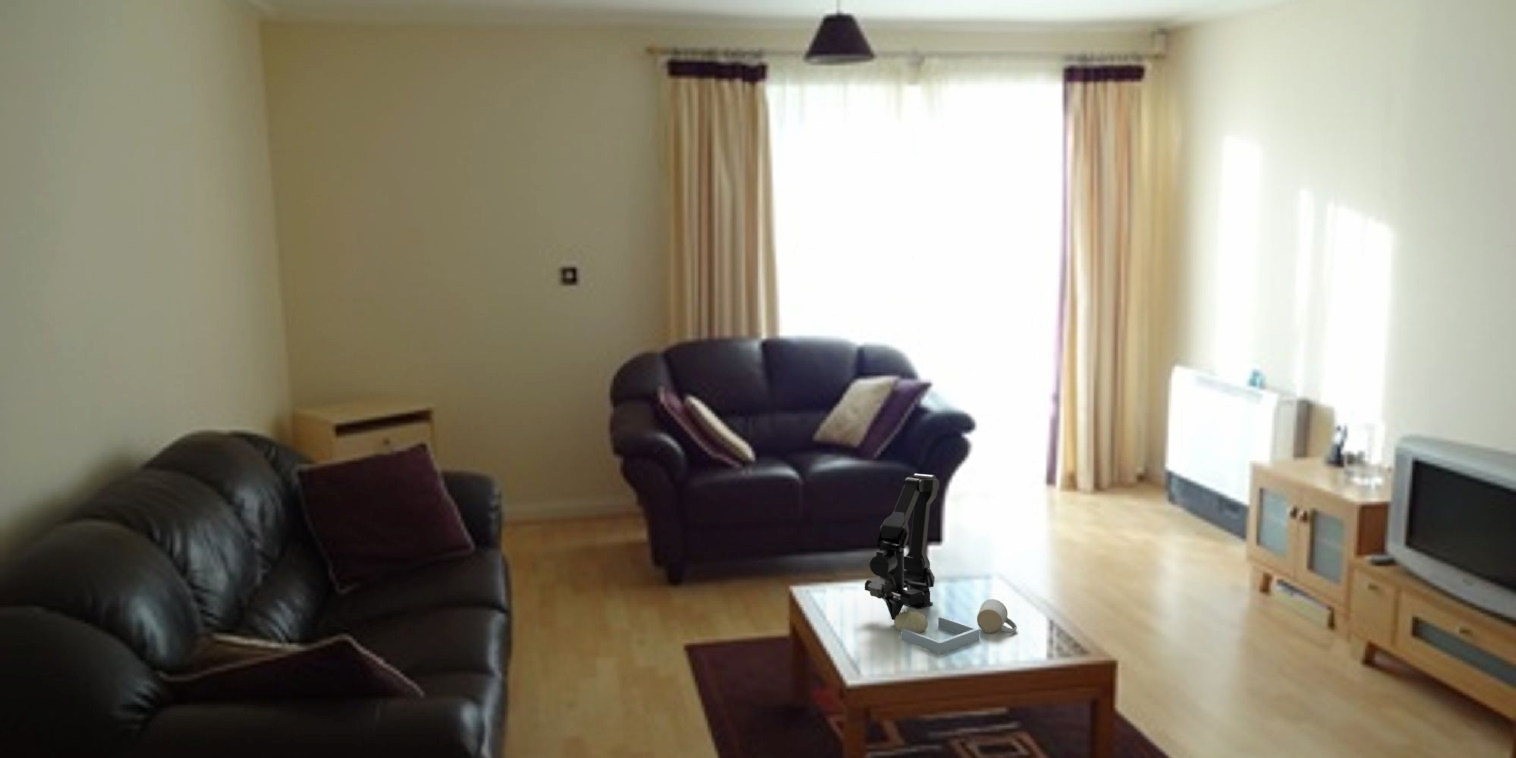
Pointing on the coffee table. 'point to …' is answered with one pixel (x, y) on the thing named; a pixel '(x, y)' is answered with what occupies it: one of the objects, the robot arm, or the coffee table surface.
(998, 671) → the coffee table surface
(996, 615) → the ceramic mug
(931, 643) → the corral
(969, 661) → the coffee table surface
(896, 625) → the sea urchin shell
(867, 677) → the coffee table surface
